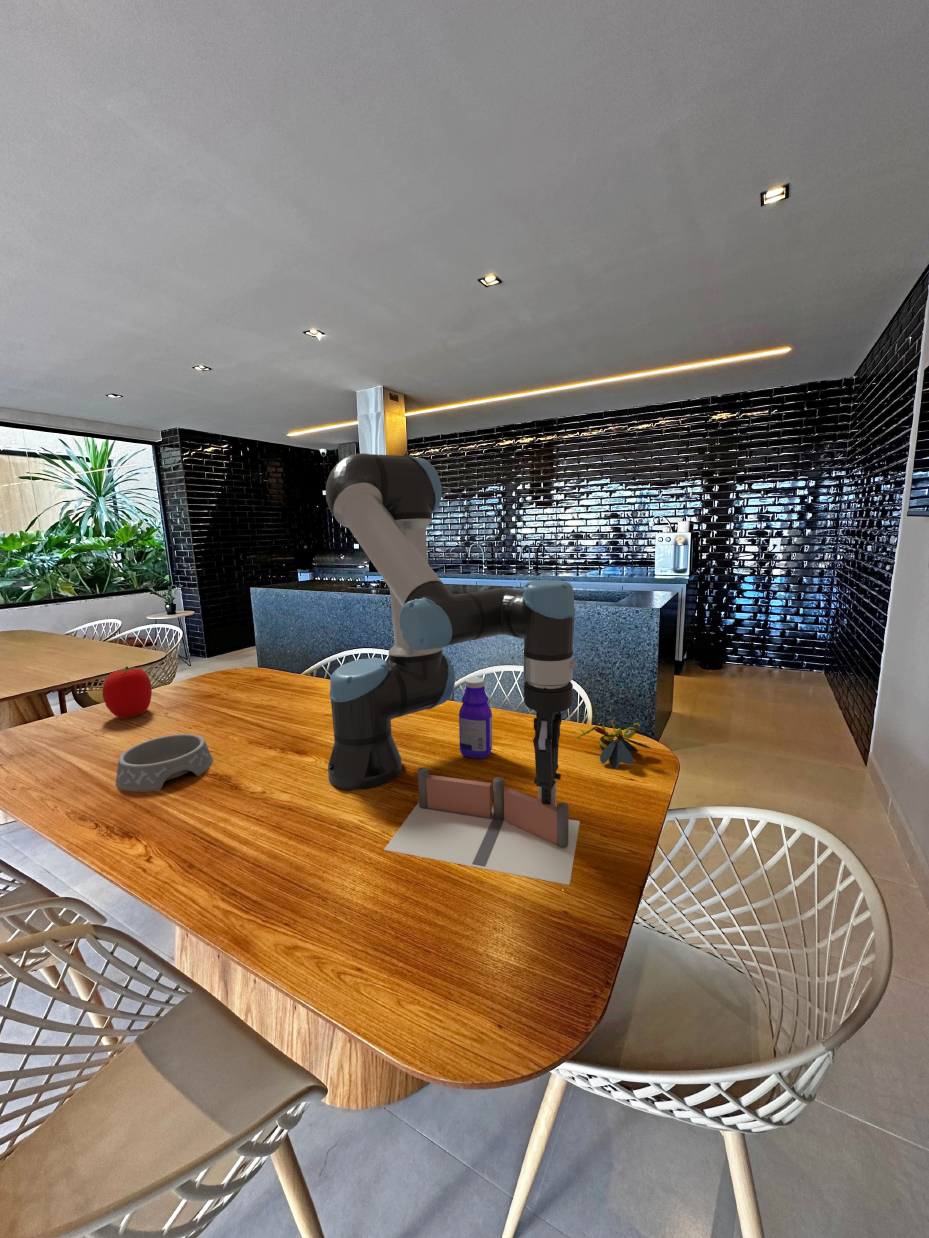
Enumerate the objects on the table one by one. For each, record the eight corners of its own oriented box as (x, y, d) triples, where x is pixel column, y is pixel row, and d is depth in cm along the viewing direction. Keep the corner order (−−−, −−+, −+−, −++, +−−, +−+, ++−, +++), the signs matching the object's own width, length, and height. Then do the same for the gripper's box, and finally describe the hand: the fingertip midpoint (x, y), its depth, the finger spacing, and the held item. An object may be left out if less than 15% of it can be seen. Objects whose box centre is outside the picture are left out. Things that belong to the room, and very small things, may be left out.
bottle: (495, 750, 114) (494, 676, 111) (488, 762, 109) (486, 684, 106) (465, 746, 117) (462, 674, 113) (456, 757, 112) (454, 682, 108)
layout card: (383, 851, 80) (383, 849, 80) (422, 799, 95) (422, 796, 95) (569, 887, 71) (569, 884, 71) (579, 823, 86) (579, 820, 86)
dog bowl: (106, 774, 109) (102, 751, 108) (196, 746, 122) (193, 725, 121) (129, 802, 97) (124, 776, 96) (225, 767, 111) (223, 744, 110)
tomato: (137, 723, 136) (129, 672, 134) (95, 724, 137) (87, 673, 134) (165, 706, 149) (158, 660, 146) (127, 707, 149) (119, 660, 146)
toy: (589, 707, 119) (652, 717, 109) (591, 741, 120) (653, 754, 110) (563, 722, 111) (628, 735, 101) (565, 759, 112) (630, 774, 102)
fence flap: (503, 821, 86) (502, 785, 85) (509, 816, 88) (508, 781, 86) (564, 848, 79) (565, 810, 77) (570, 843, 80) (570, 805, 79)
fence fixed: (417, 807, 92) (415, 771, 90) (421, 801, 94) (420, 766, 92) (503, 821, 87) (503, 783, 85) (506, 814, 89) (505, 778, 87)
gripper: (568, 697, 71) (565, 845, 76) (576, 670, 83) (574, 800, 88) (515, 692, 74) (516, 837, 78) (531, 667, 85) (531, 793, 90)
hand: (547, 817), depth 83 cm, fingers closed
